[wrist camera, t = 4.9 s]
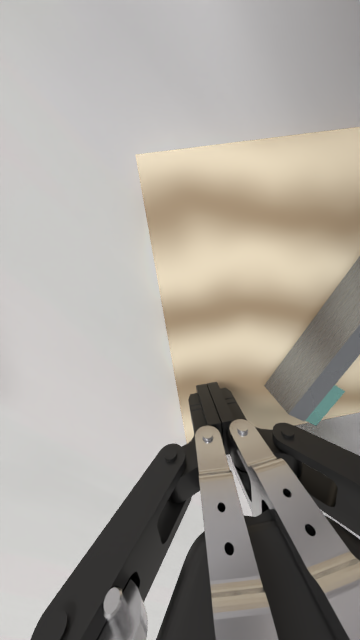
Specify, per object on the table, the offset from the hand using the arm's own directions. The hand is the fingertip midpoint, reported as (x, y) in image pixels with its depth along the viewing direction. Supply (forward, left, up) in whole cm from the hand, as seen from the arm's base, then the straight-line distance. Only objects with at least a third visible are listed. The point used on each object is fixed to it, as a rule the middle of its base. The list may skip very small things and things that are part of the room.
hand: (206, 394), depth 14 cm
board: (-5, +10, -2) cm, 11 cm away
